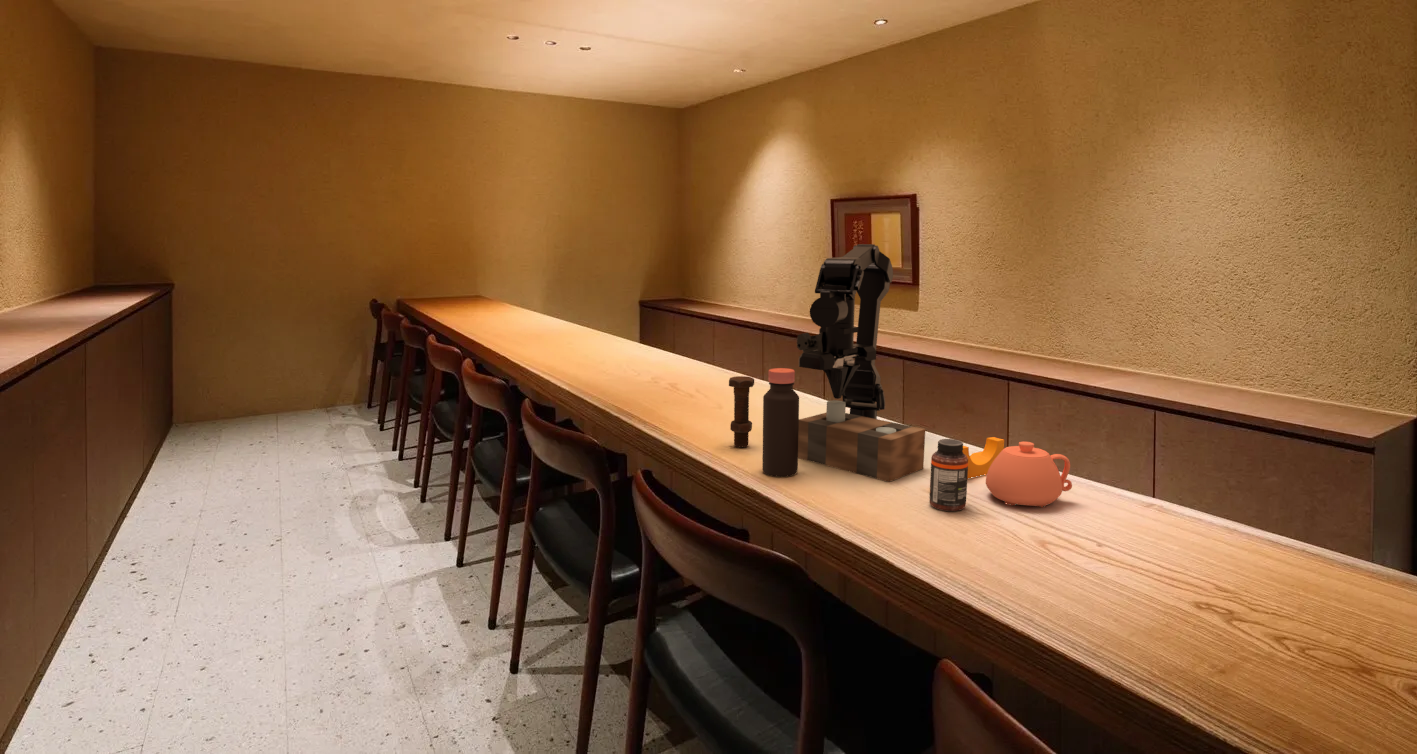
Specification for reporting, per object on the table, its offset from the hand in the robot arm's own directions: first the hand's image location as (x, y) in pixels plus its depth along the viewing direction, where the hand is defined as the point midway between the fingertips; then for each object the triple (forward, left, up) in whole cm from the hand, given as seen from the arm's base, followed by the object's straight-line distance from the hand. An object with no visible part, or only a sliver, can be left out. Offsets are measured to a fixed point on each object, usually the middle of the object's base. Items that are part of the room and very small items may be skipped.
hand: (837, 398), depth 156 cm
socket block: (0, +6, -12) cm, 14 cm away
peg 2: (0, +12, -11) cm, 16 cm away
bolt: (+8, -19, -13) cm, 24 cm away
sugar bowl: (-3, +39, -13) cm, 41 cm away
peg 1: (0, 0, -8) cm, 8 cm away
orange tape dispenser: (-10, +25, -13) cm, 30 cm away
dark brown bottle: (+16, -1, -13) cm, 20 cm away
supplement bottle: (+10, +31, -13) cm, 35 cm away
